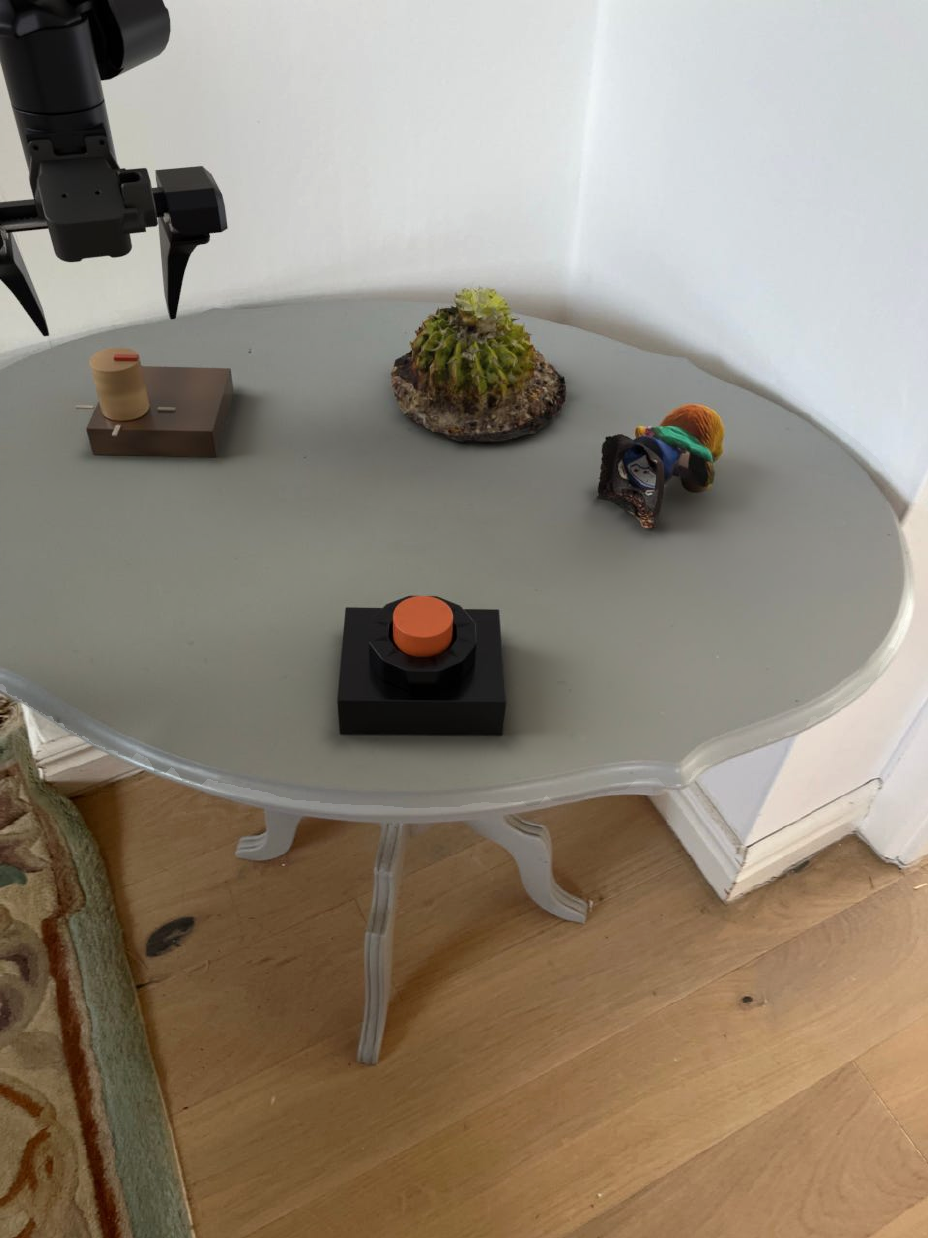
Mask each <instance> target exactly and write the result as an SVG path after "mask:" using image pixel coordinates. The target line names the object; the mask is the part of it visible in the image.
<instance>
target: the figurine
mask: <svg viewBox="0 0 928 1238" xmlns="http://www.w3.org/2000/svg"><path fill="white" fill-rule="evenodd" d="M634 436H635V437H634V439H633V438H631V437H629V436H626V435H624V434H622V433H618V434H614V435H612V436H611V435H609V436H605V437H604V439H605V440H604V441H603V442H602V445H601V454H602V455H601V458H600V459H601V464H600V466H599V467H600V473H599V477H598V480H599V481H598V484H597V493H598V495H597V496H596V498H597V499H604V500H610V501H613V502H614V503H617V504H618V505H619V506H621V507H622V509H624V510H625V511H626V512H628V513H630V514H631V515H632V516H633V517H635V519H636V520H638V522H640V525H641V527H642V528H644V529H646V530H649V529H653V528H655V527H656V526H657V519H656V518H657V517H658V516H659V514H660V511H661V508H662V502H663V501H662V500H663V497H664V493H665V486H666V485H667V483H668V482H669V481H670V480H671V479H672V477H678V478H680V482H681V483H680V484H681V486H682V488H683V489H684V490H685V491H687V492H689V493H691V494H697V493H702V492H705V491H707V490H709V489H710V488H711V487H712V485H713V484H714V480H715V476H716V468H715V464H714V463H716V462H718V461H719V460H720V458H721V457H722V455H723V453H724V446H723V441H724V439H725V427H724V424H723V421H722V417H721V416H719V414H718V413H717V412H716V411H715V410H713V409H712V408H710V407H707V406H706V405H701V404H697V403H687V404H683V405H681V406H678V407H676V408H675V409H673V410H672V411H671V412H669V413H668V414H667V415H666V416H665V417H664V418H663V419H662V421H661V422H660V423H659V425H658V426H652V425H651V426H650V425H648V426H643V425H638V426H637V427H635V430H634Z"/></svg>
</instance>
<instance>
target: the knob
mask: <svg viewBox="0 0 928 1238" xmlns="http://www.w3.org/2000/svg"><path fill="white" fill-rule="evenodd" d="M88 363H89V366H90V371H91V375H92V378H93V379H92V380H93V383H94V387H95V392H96V395H97V399H98V402H99V403H100V407H101V411H102V414H103V415H104V416H105V417H107V418H109V419H111V420H116V421H127V420H133V419H136V418H139V417H141V416H143V415H144V414H145V413H146V412H147V411H148V410H149V407H150V405H149V400H148V395H147V390H146V386H145V381H144V376H143V372H142V367H141V366H142V363H141V358H140V355H139V353H138V352H137V351H136V350H134V349H131V348H128V347H119V346H118V347H109V348H104V349H102V350H99V351H97V352H95V353H94V354H93V355H91V356H90V358H89V362H88Z"/></svg>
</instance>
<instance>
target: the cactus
mask: <svg viewBox="0 0 928 1238" xmlns="http://www.w3.org/2000/svg"><path fill="white" fill-rule="evenodd" d="M453 301H454V304H455V306H453V305H450V307H441V308H439V307H437V310H436V311H435V314H432V313H429V314H428V316H427V319H426V320H421V324H420V325H421V326H418V329H415V330H414V333H415V335H416V337H415V338H414V340H413V341H409V345H410V348H411V350H410V351H409V352H406V353H405V354H403V355H401V356H400V357H398V358H397V359H395V360H394V363H393V366H392V369H391V372H390V383H391V388H392V391H393V395H394V397H396V401H397V404H398V406H399V407H398V408H399V409H400V410H401V411H402V413H403V414H404V415H406V416H409V417H410V418H412V419H413V421H414V422H415V423H416V424H418V425H420V426H424V428H426V429H428V430H430V431H431V433H438V434H439V433H440V434H442V435H443V436H445V437H446V438H447V439H448V440H449V439H450V440H454V441H456V442H465V441H475V442H482V443H484V442H485V443H489V442H503V441H509V440H512V439H516V438H519V437H523V436H526V435H533V434H536V433H537V432H538V431H539V430H540V429H542V428H543V427H545V426H546V425H548V424H550V423H551V422H552V421H553V419H554V418H556V417H557V416H558V414H559V411H561V410H562V408H563V406H564V404H565V402H566V399H567V393H568V392H567V385H566V380H565V376H564V375H560V373H559V372H558V371H557V370H555V369H554V365H552V364H551V363H548V362H547V360H546V359H545V357H544V355H543V354H542V353H541V352H540V350H538V349H536V347H535V346H534V344H533V343H531V336H533V334H531V333H529V332H527V331H526V330H525V323H523V325H520V324H516V323H514V322H515V321H517V320H519V318H517V316H512V317H510V315H512V308H511V307H510V306H509V305H508V300H506V299H505V297H504V296H499V293H498V292H497V289H496V288H493V289H492V288H489V287H488V286H487V287H486V289H485V291H484V290H483V288H482V287H481V286H480V285H479V286H478V289H476V288H475V287H473V286H471V288H470V290H469V289H467V288H462V289H461V293H459V292H455V297H454V298H453ZM404 333H405V334H407V332H406V331H405V332H404Z"/></svg>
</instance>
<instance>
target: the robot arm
mask: <svg viewBox="0 0 928 1238" xmlns="http://www.w3.org/2000/svg"><path fill="white" fill-rule="evenodd" d="M171 31H172V27H171V16H170V12H169V8H167V6H166V5H165V2H164V0H0V67H1V71H2V75H3V78H4V82H5V86H6V90H7V94H8V97H9V98H8V99H9V101H10V105H11V106H10V107H11V109H12V113H13V116H14V121H15V125H16V128H17V132H18V136H19V139H20V143H21V147H22V150H23V154H24V159H25V162H26V166H27V171H28V181H29V186H30V190H31V194H32V198H31V199H20V200H19V199H17V200H9V201H8V200H7V201H0V281H1V282H2V283H3V284H4V285H5V286H6V288H7V289H8V290H9V291H10V292H11V293H12V294H13V296H14V297H15V298H16V300H17V301H18V303H19V305H21V307H22V308H23V309H24V311H25V313H26V314H27V315H28V316H29V319H30V320H31V321H32V322H33V324H34V325H35V326H36V328H37V329H38V331H39V332H40V334H41V335H42V336H43V337H49V336H50V331H49V327H48V323H47V319H46V315H45V312H44V308H43V306H42V303H41V301H40V298H39V296H38V293H37V291H36V288H35V285H34V284H33V281H32V278H31V276H30V274H29V271H28V268H27V266H26V262H25V261H24V257H23V256H22V253H21V251H20V249H19V246H18V243H17V240H16V238H15V236H14V233H21V232H29V231H41V230H48V232H49V236H50V240H51V245H52V247H53V251H54V254H55V256H56V257H57V259H59V260H60V261H62V262H66V263H79V262H82V261H83V260H84V259H85V260H86V259H93V258H103V257H110V258H113V259H114V258H121V257H124V256H126V255H128V254H129V253H131V251H132V249H133V243H132V239H131V235H133V234H140V233H147V229H146V228H154V227H157V226H158V235H159V248H160V259H161V260H160V261H161V272H162V283H163V293H164V299H165V304H166V308H167V309H166V310H167V313H168V317H169V319H170V320H176V318H177V314H178V309H179V304H180V299H181V298H180V296H181V292H182V287H183V281H184V277H185V272H186V269H187V266H188V263H189V260H190V257H191V256H192V253H193V252H194V251H195V249H196V248H197V247H198V246H201V245H207V244H209V242H210V240H211V234H219V233H223V232H224V231H227V230H228V229H229V226H228V220H227V211H226V205H225V201H224V197H223V193H222V191H221V189H220V187H219V186H218V183H217V182H216V180H215V178H214V176H213V174H212V173H211V172H209V171H208V170H207V168H205V167H204V166H203V165H198V166H186V167H175V168H164V169H163V168H162V169H155V184H156V187H153V186H152V181H151V178H150V175H149V172H148V169H147V168H146V167H140V168H139V167H138V168H128V169H127V168H125V167H122V168H121V167H120V165H119V163H118V160H117V154H116V149H115V144H114V140H113V135H112V131H111V126H110V120H109V115H108V114H109V113H108V110H107V105H106V99H105V96H104V90H103V85H102V81H110V80H112V79H114V78H117V77H118V76H120V75H123V74H124V73H127V72H129V71H130V70H133V69H135V68H137V67H139V66H142V65H143V64H145V63H147V62H149V61H151V60H153V59H155V58H157V57H158V56H160V55H161V54H163V52H164V51H165V50H166V48H167V46H168V43H169V41H170V37H171Z"/></svg>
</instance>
